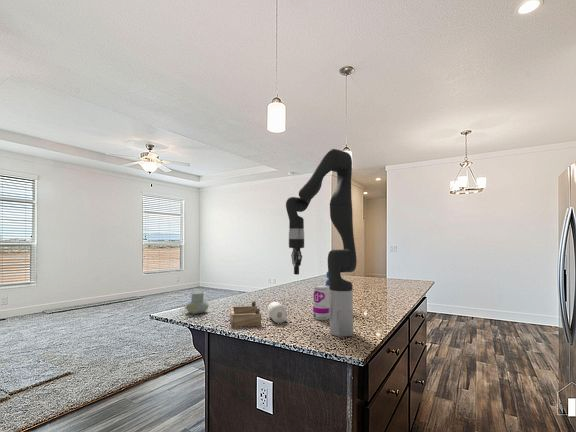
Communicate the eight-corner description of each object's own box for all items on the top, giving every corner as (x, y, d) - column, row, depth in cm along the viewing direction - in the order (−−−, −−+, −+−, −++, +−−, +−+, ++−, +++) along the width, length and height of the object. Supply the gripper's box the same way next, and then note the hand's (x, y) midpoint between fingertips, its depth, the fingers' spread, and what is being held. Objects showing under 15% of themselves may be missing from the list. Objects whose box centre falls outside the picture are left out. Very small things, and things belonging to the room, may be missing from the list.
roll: (285, 324, 141) (288, 308, 142) (270, 322, 140) (273, 305, 140) (280, 317, 153) (283, 302, 154) (266, 315, 152) (269, 300, 153)
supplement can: (324, 321, 143) (324, 288, 144) (309, 318, 148) (309, 286, 149) (333, 317, 150) (333, 286, 151) (318, 315, 155) (318, 284, 156)
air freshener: (210, 311, 162) (211, 292, 163) (201, 315, 155) (202, 294, 155) (192, 310, 166) (193, 291, 167) (183, 313, 158) (183, 293, 159)
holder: (261, 325, 136) (261, 309, 137) (231, 327, 133) (231, 310, 134) (256, 315, 154) (256, 301, 154) (230, 317, 151) (230, 302, 151)
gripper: (307, 238, 146) (307, 275, 144) (300, 238, 159) (300, 272, 157) (291, 238, 144) (291, 276, 143) (286, 238, 157) (286, 273, 156)
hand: (296, 274), depth 150 cm, fingers closed
